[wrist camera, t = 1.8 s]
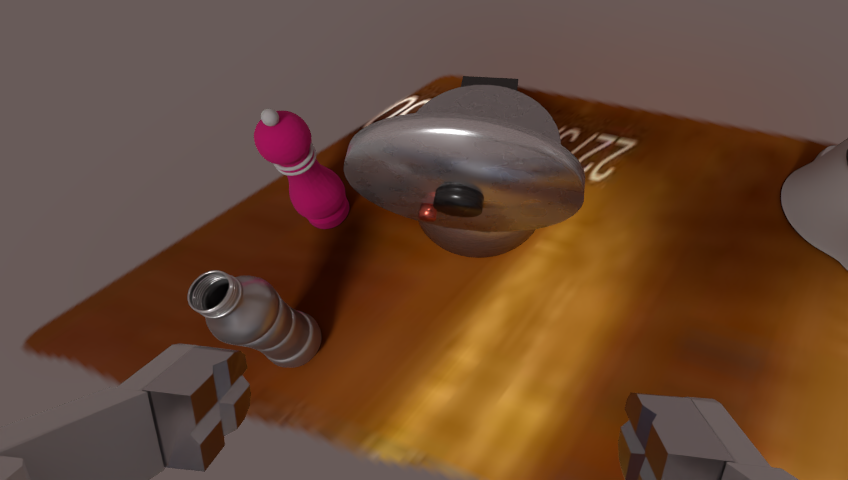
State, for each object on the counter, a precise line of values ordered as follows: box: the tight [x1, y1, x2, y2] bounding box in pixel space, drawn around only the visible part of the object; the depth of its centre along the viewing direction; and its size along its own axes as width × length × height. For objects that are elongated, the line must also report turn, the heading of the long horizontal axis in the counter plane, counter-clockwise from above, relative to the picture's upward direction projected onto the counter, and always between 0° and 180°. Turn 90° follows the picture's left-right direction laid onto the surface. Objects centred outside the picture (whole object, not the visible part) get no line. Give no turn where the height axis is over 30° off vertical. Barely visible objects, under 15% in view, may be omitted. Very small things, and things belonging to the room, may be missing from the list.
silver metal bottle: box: [188, 270, 322, 367], centre depth 43 cm, size 6×7×20 cm
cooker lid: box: [344, 112, 585, 232], centre depth 34 cm, size 19×19×3 cm
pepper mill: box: [254, 109, 349, 229], centre depth 51 cm, size 7×7×20 cm
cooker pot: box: [416, 76, 561, 258], centre depth 53 cm, size 18×22×12 cm
